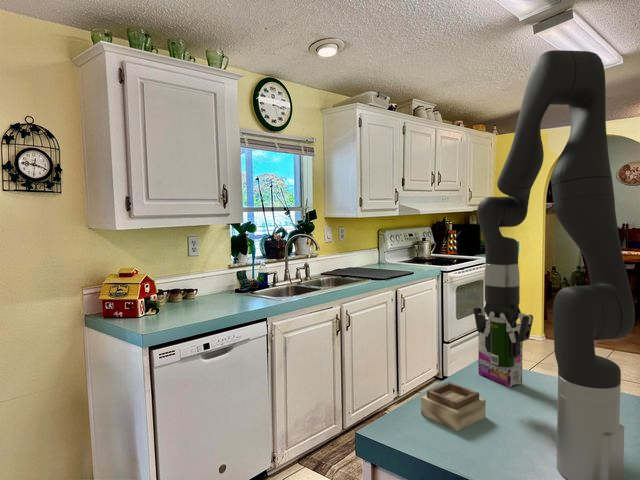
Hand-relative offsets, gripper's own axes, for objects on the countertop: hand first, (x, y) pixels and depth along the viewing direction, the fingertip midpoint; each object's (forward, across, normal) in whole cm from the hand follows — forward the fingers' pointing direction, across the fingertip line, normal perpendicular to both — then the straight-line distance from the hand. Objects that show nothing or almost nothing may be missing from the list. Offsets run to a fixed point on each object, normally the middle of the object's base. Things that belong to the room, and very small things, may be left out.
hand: (502, 354), depth 103 cm
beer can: (+3, 0, 0) cm, 3 cm away
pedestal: (+12, +4, +13) cm, 18 cm away
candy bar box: (+12, +10, -14) cm, 21 cm away
